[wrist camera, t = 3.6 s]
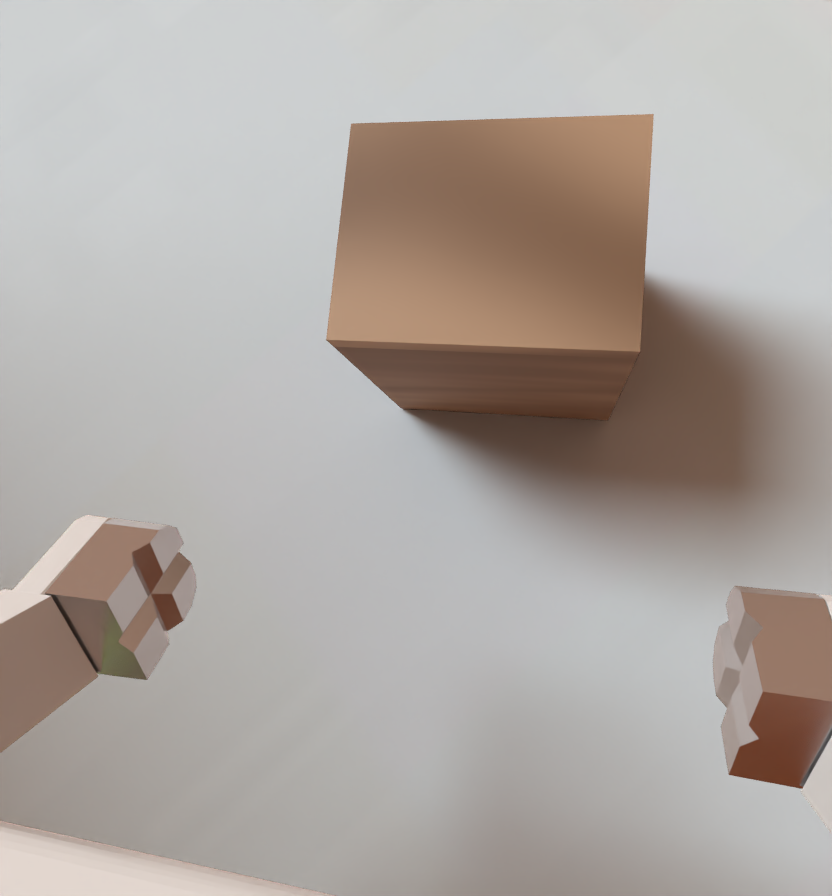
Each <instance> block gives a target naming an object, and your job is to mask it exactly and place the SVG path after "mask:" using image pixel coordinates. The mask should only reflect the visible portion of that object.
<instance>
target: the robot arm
mask: <svg viewBox="0 0 832 896" xmlns="http://www.w3.org/2000/svg"><path fill="white" fill-rule="evenodd" d="M182 545H183V540H182V538H181V536H180V534H179V531H178V529H177V528H176V527H172V526H168V525H162V524H154V523H147V522H140V521H132V520H125V519H118V518H107V517H99V516H92V515H85V516H83V517H81V518H78V519H76V520H75V521H74V522H73V523H72V524H71V526H70V527H69V528H68V529H67V530H66V531H65V532H64V533H63V534H62V536H61V537H60V538H59V539H58V540H57V541H56V542H55V543H54V544H53V546H52V547H51V548H50V549H49V550H48V551H47V552H46V553H45V555H44V556H43V557H42V558H41V559H40V560H39V561H38V562H37V563H36V565H35V566H34V567H33V568H32V569H31V570H30V571H29V572H28V573H27V575H26V576H25V577H24V578H23V579H22V580H21V581H20V582H19V583H18V585H17V586H16V587H15V588H14V589H13V590H7V589H3V590H1V591H0V753H1V752H2V751H3V750H5V749H6V748H7V747H8V746H10V745H11V744H12V743H14V742H15V741H16V740H17V739H19V738H20V737H21V736H23V735H24V734H25V733H26V732H28V731H29V730H30V729H32V728H33V727H34V726H35V725H37V724H38V723H39V722H41V721H42V720H43V719H44V718H46V717H47V716H48V715H49V714H51V713H52V712H53V711H55V710H56V709H57V708H58V707H60V706H61V705H62V704H64V703H65V702H66V701H67V700H69V699H70V698H71V697H73V696H74V695H75V694H76V693H78V692H79V691H80V690H82V689H83V688H84V687H85V686H87V685H88V684H89V683H91V682H92V681H93V680H94V679H96V678H97V677H98V675H97V673H98V674H106V675H113V676H121V677H128V678H136V679H143V680H148V678H149V676H150V675H151V673H152V672H153V670H154V668H155V667H156V665H157V663H158V662H159V660H160V658H161V657H162V655H163V653H164V652H165V650H166V649H167V647H168V645H169V639H168V632H167V631H168V630H170V629H171V628H173V627H174V626H176V625H177V624H179V623H181V622H182V621H183V620H184V619H185V617H186V615H187V613H188V612H189V610H190V608H191V606H192V603H193V599H194V595H195V591H196V575H195V572H194V569H193V566H192V563H191V562H190V561H189V560H187V559H186V558H185V557H184V556H183V555H182V554H181V553H180V552H179V551H180V549H181V547H182ZM726 608H727V614H728V619H729V621H727V622H726V623H724V624H722V625H721V626H719V628H718V632H717V636H716V640H715V644H714V655H713V675H714V684H715V692H716V696H717V697H718V698H719V700H720V701H721V702H722V703H723V704H724V705H725V706H726V707H727V710H726V713H725V716H724V719H723V721H722V724H721V731H722V737H723V743H724V749H725V756H726V762H727V768H728V774H729V775H732V776H738V777H743V778H748V779H754V780H759V781H764V782H770V783H775V784H780V785H786V786H791V787H796V788H802V790H801V793H802V794H803V796H804V797H805V798H806V800H807V801H808V803H809V804H810V805H811V807H812V808H813V809H814V811H815V812H816V813H817V815H818V816H819V817H820V819H821V820H822V822H823V823H824V824H825V826H826V827H827V828H828V830H829V831H830V832H831V834H832V596H831V595H821V594H819V595H816V594H813V593H803V592H793V591H782V590H772V589H762V588H752V587H742V586H734V588H733V589H732V590H731V591H730V594H729V597H728V600H727V603H726ZM0 896H335V895H331V894H326V893H322V892H317V891H313V890H308V889H304V888H299V887H295V886H290V885H286V884H281V883H277V882H272V881H268V880H264V879H259V878H255V877H250V876H246V875H241V874H237V873H232V872H228V871H223V870H219V869H214V868H210V867H205V866H201V865H197V864H192V863H188V862H183V861H179V860H174V859H170V858H165V857H161V856H156V855H152V854H147V853H143V852H138V851H134V850H129V849H125V848H120V847H116V846H111V845H107V844H103V843H98V842H94V841H89V840H85V839H80V838H76V837H71V836H67V835H62V834H58V833H53V832H49V831H44V830H40V829H35V828H31V827H26V826H22V825H17V824H13V823H8V822H4V821H0Z"/></svg>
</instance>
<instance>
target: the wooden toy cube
mask: <svg viewBox="0 0 832 896" xmlns="http://www.w3.org/2000/svg"><path fill="white" fill-rule="evenodd" d="M653 115H654V114H646V115H614V116H582V117H550V118H518V119H486V120H454V121H422V122H390V123H358V124H351V130H350V139H349V147H348V156H347V165H346V173H345V182H344V191H343V199H342V208H341V217H340V225H339V234H338V243H337V251H336V260H335V269H334V277H333V286H332V295H331V303H330V312H329V321H328V329H327V338H326V340H327V341H328V342H329V343H330V344H331V345H333V346H334V347H335V348H336V349H337V350H338V351H339V352H340V353H341V354H342V355H344V356H345V357H346V358H347V359H348V360H349V361H350V362H351V363H352V364H353V365H354V366H356V367H357V368H358V369H359V370H360V371H361V372H362V373H363V374H364V375H365V376H367V377H368V378H369V379H370V380H371V381H372V382H373V383H374V384H375V385H376V386H377V387H379V388H380V389H381V390H382V391H383V392H384V393H385V394H386V395H387V396H388V397H389V398H391V399H392V400H393V401H394V402H395V403H396V404H397V405H398V406H399V407H400V408H405V409H422V410H439V411H456V412H473V413H490V414H507V415H524V416H541V417H559V418H576V419H593V420H608V419H609V417H610V415H611V413H612V411H613V409H614V407H615V404H616V402H617V400H618V398H619V396H620V394H621V392H622V389H623V387H624V385H625V383H626V381H627V379H628V377H629V374H630V372H631V370H632V368H633V366H634V364H635V362H636V360H637V357H638V355H639V353H640V346H641V328H642V310H643V293H644V275H645V257H646V239H647V221H648V204H649V186H650V168H651V150H652V132H653Z"/></svg>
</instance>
